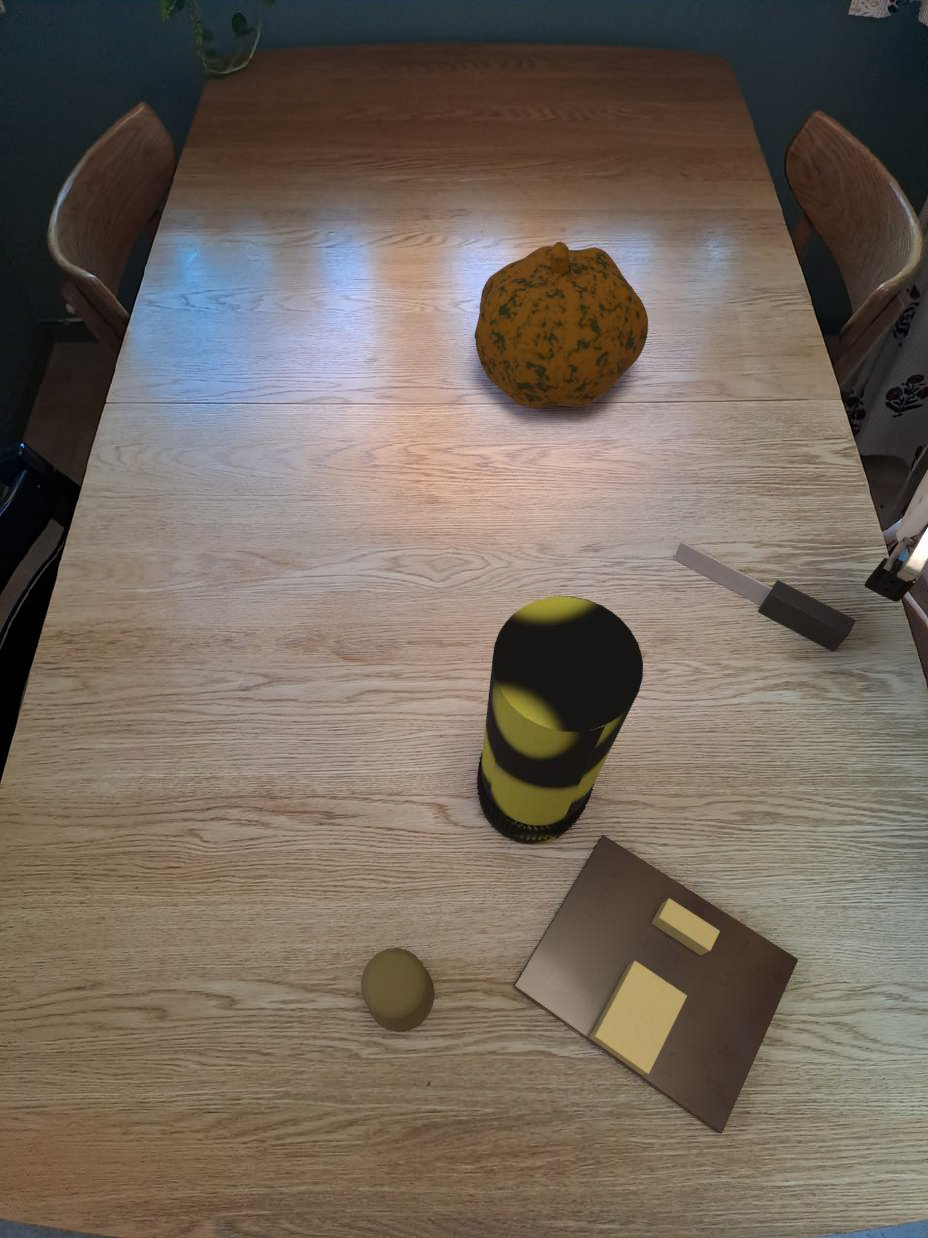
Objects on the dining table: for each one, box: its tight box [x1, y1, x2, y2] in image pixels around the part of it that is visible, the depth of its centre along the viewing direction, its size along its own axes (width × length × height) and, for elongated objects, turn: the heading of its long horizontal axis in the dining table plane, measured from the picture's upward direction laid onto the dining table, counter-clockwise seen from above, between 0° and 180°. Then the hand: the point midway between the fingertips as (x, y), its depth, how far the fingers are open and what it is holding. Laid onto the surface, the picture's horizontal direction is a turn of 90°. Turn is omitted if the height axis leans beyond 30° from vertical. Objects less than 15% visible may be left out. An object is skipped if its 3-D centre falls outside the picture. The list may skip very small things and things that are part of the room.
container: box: [476, 595, 644, 845], centre depth 70 cm, size 11×11×30 cm
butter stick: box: [590, 961, 687, 1074], centre depth 71 cm, size 5×7×3 cm
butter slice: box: [652, 898, 720, 955], centre depth 74 cm, size 5×2×3 cm, turn 56°
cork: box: [360, 947, 435, 1033], centre depth 69 cm, size 6×6×11 cm
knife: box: [673, 540, 857, 653], centre depth 93 cm, size 20×2×4 cm, turn 56°
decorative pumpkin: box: [473, 241, 649, 408], centre depth 102 cm, size 20×21×20 cm
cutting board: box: [513, 834, 799, 1134], centre depth 75 cm, size 20×16×2 cm
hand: (899, 554), depth 77 cm, fingers open, 9 cm apart
